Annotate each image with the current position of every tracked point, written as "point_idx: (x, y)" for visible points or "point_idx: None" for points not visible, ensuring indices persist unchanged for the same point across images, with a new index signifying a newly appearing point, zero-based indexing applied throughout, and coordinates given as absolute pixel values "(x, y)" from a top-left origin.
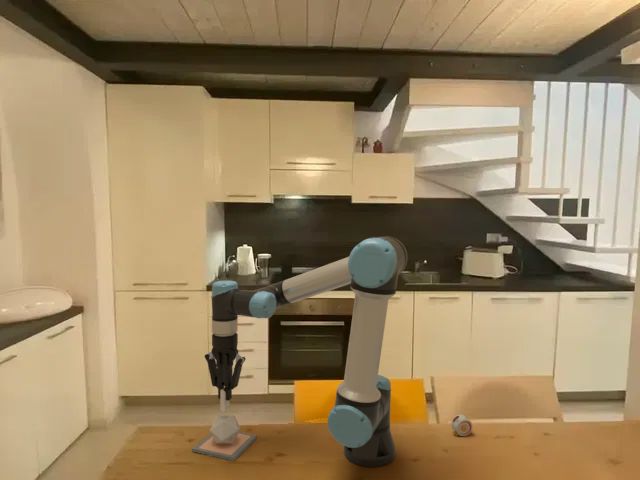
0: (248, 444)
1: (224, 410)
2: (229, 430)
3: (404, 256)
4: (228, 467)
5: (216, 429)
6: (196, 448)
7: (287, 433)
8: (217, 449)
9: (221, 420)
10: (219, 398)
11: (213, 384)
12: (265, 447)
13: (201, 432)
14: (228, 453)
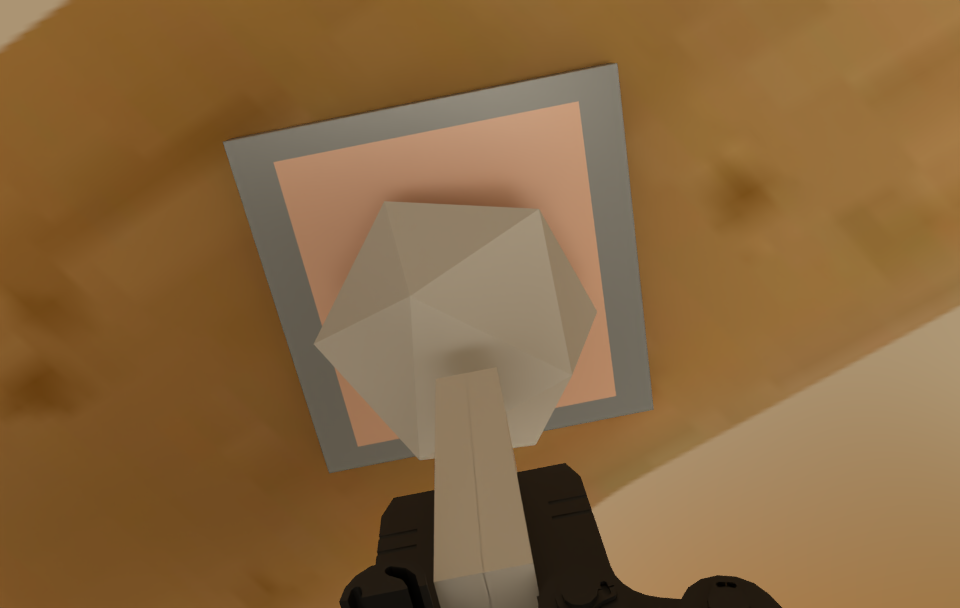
0: (294, 356)
1: (438, 387)
2: (357, 292)
3: None
4: (197, 47)
5: (470, 231)
6: (586, 86)
7: (211, 601)
8: (428, 169)
9: (456, 311)
10: (553, 472)
11: (729, 605)
12: (192, 404)
13: (740, 319)
14: (307, 169)
